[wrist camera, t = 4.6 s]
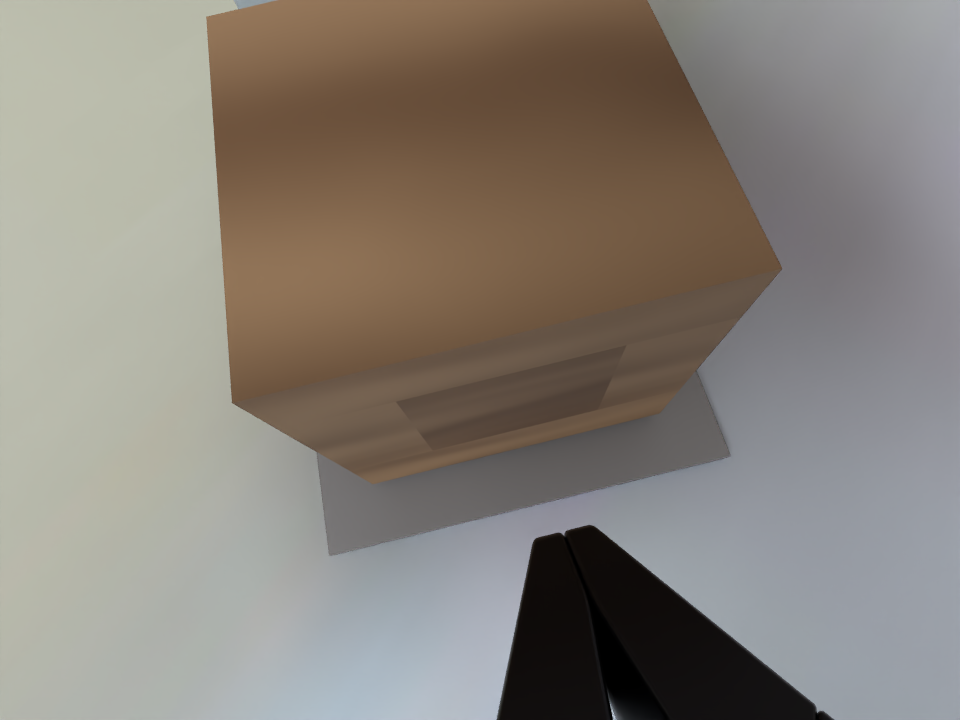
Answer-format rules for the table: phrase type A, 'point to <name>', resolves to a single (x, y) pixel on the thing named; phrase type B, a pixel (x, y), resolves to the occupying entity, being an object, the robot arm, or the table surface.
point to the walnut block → (467, 223)
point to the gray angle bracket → (517, 471)
